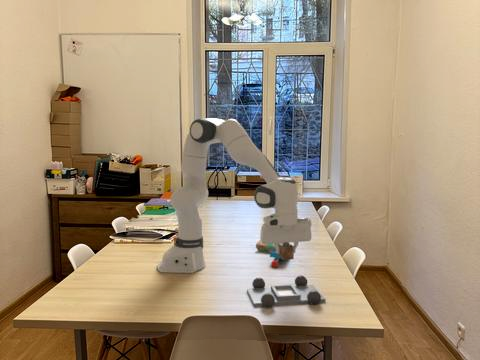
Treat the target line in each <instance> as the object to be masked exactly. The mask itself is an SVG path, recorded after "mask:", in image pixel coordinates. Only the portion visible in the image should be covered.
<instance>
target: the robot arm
mask: <svg viewBox="0 0 480 360" xmlns="http://www.w3.org/2000/svg"><path fill="white" fill-rule="evenodd" d="M213 144H214V145H217V144H222V145H223V146H224V148H225V150H226V152H227V153H228V155H229V157H230V158H231V159H232V160H233V161H234V162H235V163H237V164H240V165H243V166H246V167H247V166H248V167H250V168H253V169H254V170H256V171H257V172H258V173H259V174H260V175H261V177H262V178H263V180H264V181H265V182H266V184H262V185H260V186H257V187H256V189H255V190H254V193H253V198H254V202H255V204H256V205H257V206H258V207H259V208H261V209H270V208H271V209H272V208H273V209H274V213H272V214H270V215H266V216H264V217H263V219H262V220H263V224H262V225H261V229H260V238H259V241H260V240H261V242H262V243H264V244H270V243H274V246H275V248H276V253H277V254H281V249H280V248H278V247H277V246H278V243H287V242H288V243H293V245H292V246H293V247H294V254H295V253H296V249H297V248H298V246H299V242H300V243H301V242H303V243H304V242H310V241H311V240H312V229H311V228H312V220H311V219H310V218H308V217H298V212H299V211H298V207H297V205H298V202H299V195H298V194H299V193H298V191H299V190H298V183H297V182H296V180H295V179H294V178H291V177H286V176H281V175H280V174H279V172H278V171H277V169H276V168H275V167H274V166H273V165H272V163H271V162H270V160H269V159H268V158H267V157H266V156H265V154H264V153H263V152H262V151H261V150H260V149H259V148H258V147H257V146H256V145H255V143H254V142H253V141H252V139H251V137H250V136H249V135H248V132H247V131H246V130H245V128H244V127H243V126H242V124H241V123H239V121H237V120H236V119H233V118H229V119H224V118H223V119H222V118H215V117H209V118H205V117H201V118H197V119H194V120H193V121H192V122H191V123H190V126H189V132H188V134H187V135H186V138H185V142H184V145H183V151H182V158H181V167H180V168H181V169H180V170H181V173H182V175H183V183H184V184H183V186H180V187H178V188H177V189H175V190H174V191H173V192H172V193H171V195H170V199H169V200H170V204H171V207H172V208H173V209H174V211H175V214H176V217H177V226H178V227H177V228H178V229H177V231H178V236H175V235H174V236H173V239H172V240H173V246H171V247H170V248H168V249H167V250H166V251H165V252H164V253H163V255H162V259H161V261H158V263H157V266H156V267H157V269H156V270H157V271H159V272H160V273H167V274H168V273H173V274H174V273H175V274H177V273H178V274H181V273H182V274H193V273H195V272H198V271H200V270H203V269H204V268H205V267H206V262H205V257H204V250H203V249H204V236H203V221H202V219H201V218H202V217H200V213H199V209H198V208H199V206H201V205H203V204H204V203H205V201H206V200H207V199H208V197H209V190H208V187H207V181H206V180H207V179H206V170H207V169H206V168H207V161H208V152H209V147H210V146H211V145H213Z"/></svg>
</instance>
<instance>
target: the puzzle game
mask: <svg viewBox="0 0 480 360" xmlns="http://www.w3.org/2000/svg"><path fill="white" fill-rule="evenodd" d="M277 247H278V246H277ZM255 248H256V250H257V251H259V252H268V253H270V252H276V248H275V246H274V243H270V244H264V243H262V242H261V240H260V239H259V240H258V242H257V243H256V244H255Z"/></svg>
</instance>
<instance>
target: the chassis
mask: <svg viewBox="0 0 480 360" xmlns="http://www.w3.org/2000/svg"><path fill="white" fill-rule="evenodd" d="M251 284H252V288H247V289H246V292H247V295H248V296H249V299H250V301H251V303H252V305H253V307H254V308H255V307H264V308H272V307H273V306H283V305H286V306H287V305H298V304H301V305H302V304H311V305H313V306H314V305H317V304H319V303H326V298H325V297H324V296H323V294H322V293H321V292H320V291H319V290H318V288H316V287H315V285H314V284H309V285H308V279H307V278H306V276H304V275H298V276H297V277H295V278H294V284H295V285H294V284H292V283H290V284H274V285H270V287H265V286H266V282H265V280H264V278H262V277H256V278H254V279H253V281H252V283H251Z"/></svg>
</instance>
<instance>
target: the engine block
mask: <svg viewBox="0 0 480 360" xmlns="http://www.w3.org/2000/svg"><path fill="white" fill-rule="evenodd" d="M293 246H294V245H293V244H292V243H291V242H287V243H278V248H280V249H281V254H278V255H279V257H280V258H279V259H281V260H282V261H283V260H284V261H286V260H294V255H295V253H294V247H293Z"/></svg>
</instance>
